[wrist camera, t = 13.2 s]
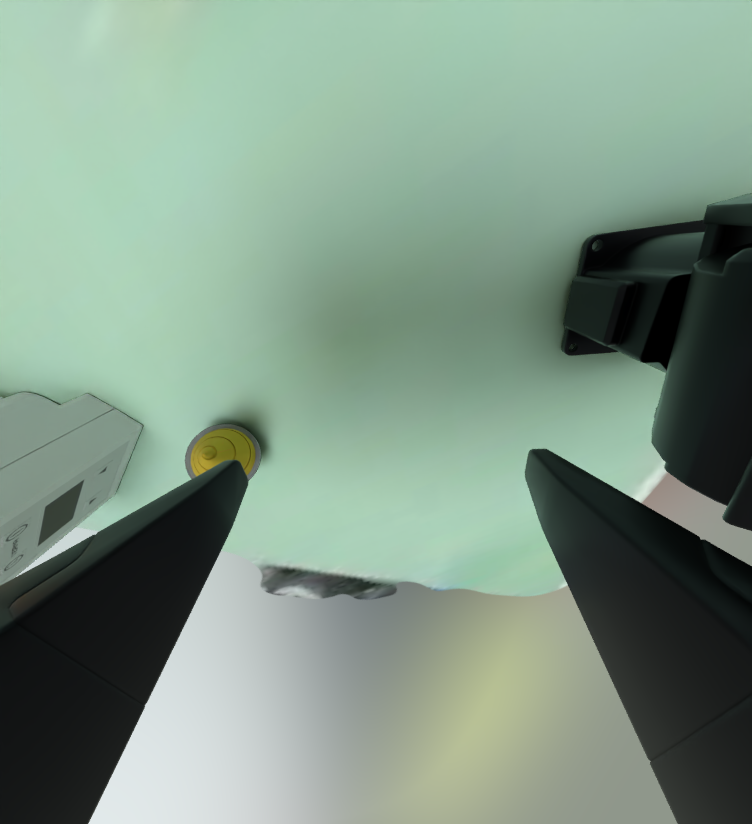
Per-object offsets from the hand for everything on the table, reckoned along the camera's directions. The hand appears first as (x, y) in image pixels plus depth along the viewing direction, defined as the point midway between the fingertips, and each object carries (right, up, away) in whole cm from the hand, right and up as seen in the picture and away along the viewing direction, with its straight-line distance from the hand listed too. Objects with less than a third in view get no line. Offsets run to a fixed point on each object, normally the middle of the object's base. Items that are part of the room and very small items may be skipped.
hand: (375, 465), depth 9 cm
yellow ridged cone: (-12, 0, +15) cm, 20 cm away
